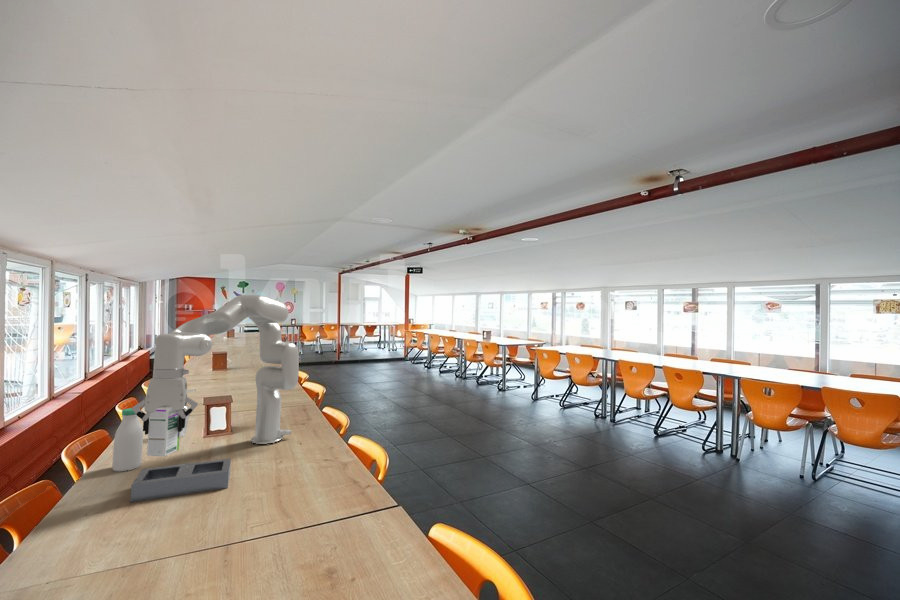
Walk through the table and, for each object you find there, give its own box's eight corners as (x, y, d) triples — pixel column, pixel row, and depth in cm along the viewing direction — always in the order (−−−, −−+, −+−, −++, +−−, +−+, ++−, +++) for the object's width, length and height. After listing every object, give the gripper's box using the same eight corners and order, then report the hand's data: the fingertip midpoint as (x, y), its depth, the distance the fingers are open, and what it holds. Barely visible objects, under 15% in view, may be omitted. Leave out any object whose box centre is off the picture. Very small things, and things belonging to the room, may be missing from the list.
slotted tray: (230, 473, 130) (231, 458, 130) (227, 488, 119) (228, 471, 120) (141, 485, 119) (142, 468, 120) (130, 502, 109) (131, 484, 109)
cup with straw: (178, 432, 171) (181, 387, 171) (196, 433, 169) (199, 388, 170) (161, 438, 162) (164, 390, 163) (180, 439, 161) (183, 392, 162)
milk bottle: (143, 467, 132) (147, 409, 133) (113, 474, 126) (117, 413, 127) (139, 461, 137) (142, 405, 138) (110, 467, 132) (114, 408, 133)
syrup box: (165, 456, 114) (168, 407, 115) (145, 455, 114) (149, 406, 115) (179, 450, 120) (182, 403, 120) (160, 449, 120) (163, 402, 121)
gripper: (203, 371, 125) (199, 426, 124) (136, 373, 118) (131, 431, 117) (200, 374, 119) (196, 432, 118) (128, 376, 111) (124, 438, 110)
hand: (164, 431), depth 117 cm, fingers closed on syrup box, 7 cm apart
